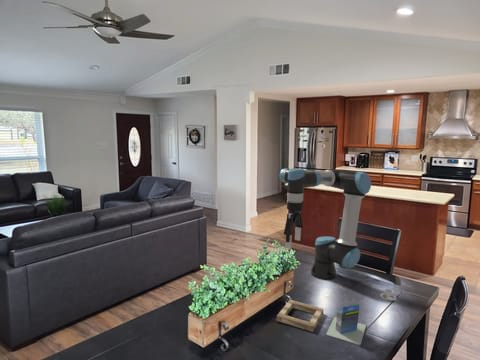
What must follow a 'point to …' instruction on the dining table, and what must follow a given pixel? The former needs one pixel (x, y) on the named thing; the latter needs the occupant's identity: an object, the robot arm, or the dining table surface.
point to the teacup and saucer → (388, 295)
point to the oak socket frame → (297, 322)
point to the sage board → (347, 333)
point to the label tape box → (347, 319)
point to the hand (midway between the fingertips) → (292, 244)
